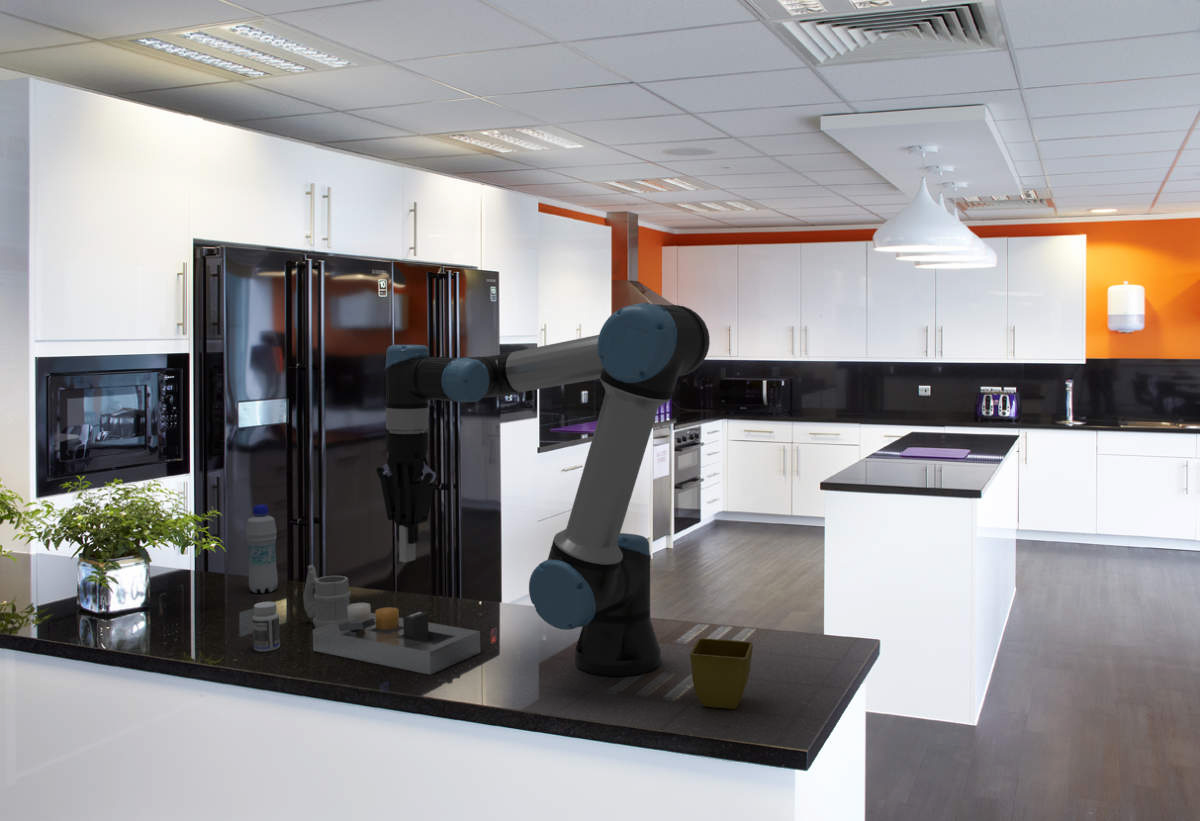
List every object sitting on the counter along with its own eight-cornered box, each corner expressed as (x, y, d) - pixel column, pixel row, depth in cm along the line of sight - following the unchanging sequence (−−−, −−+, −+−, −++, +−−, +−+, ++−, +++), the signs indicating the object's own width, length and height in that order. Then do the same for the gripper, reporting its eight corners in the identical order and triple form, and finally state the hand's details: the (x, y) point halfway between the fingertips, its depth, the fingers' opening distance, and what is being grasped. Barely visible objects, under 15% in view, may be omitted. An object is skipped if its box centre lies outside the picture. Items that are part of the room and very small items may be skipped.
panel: (480, 652, 191) (479, 628, 191) (430, 674, 179) (429, 648, 179) (366, 631, 205) (365, 608, 205) (313, 650, 193) (312, 626, 193)
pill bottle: (273, 642, 199) (271, 599, 198) (284, 648, 195) (282, 604, 195) (249, 648, 196) (247, 604, 195) (259, 653, 192) (258, 608, 192)
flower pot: (753, 696, 167) (753, 641, 166) (747, 715, 158) (746, 657, 158) (698, 692, 169) (698, 637, 168) (689, 711, 161) (689, 653, 160)
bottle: (285, 589, 240) (282, 503, 239) (261, 596, 234) (258, 507, 233) (265, 586, 244) (262, 501, 242) (241, 592, 238) (238, 505, 237)
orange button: (403, 625, 194) (403, 609, 193) (388, 630, 190) (387, 614, 190) (386, 622, 196) (386, 606, 196) (371, 627, 192) (370, 611, 192)
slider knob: (428, 641, 191) (427, 612, 190) (413, 647, 187) (412, 617, 187) (419, 639, 192) (418, 610, 192) (404, 645, 188) (403, 616, 188)
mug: (332, 635, 203) (330, 574, 202) (290, 626, 210) (288, 567, 209) (361, 625, 210) (359, 566, 209) (319, 617, 216) (318, 560, 215)
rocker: (375, 624, 190) (373, 618, 190) (363, 628, 187) (362, 622, 187) (351, 627, 193) (350, 620, 193) (339, 631, 191) (338, 624, 191)
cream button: (375, 620, 197) (375, 604, 197) (359, 625, 194) (359, 609, 193) (359, 617, 199) (358, 601, 199) (343, 622, 196) (342, 606, 196)
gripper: (449, 431, 187) (448, 561, 189) (393, 426, 194) (394, 551, 196) (421, 435, 180) (421, 569, 183) (365, 430, 187) (366, 559, 189)
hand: (407, 560), depth 189 cm, fingers closed
